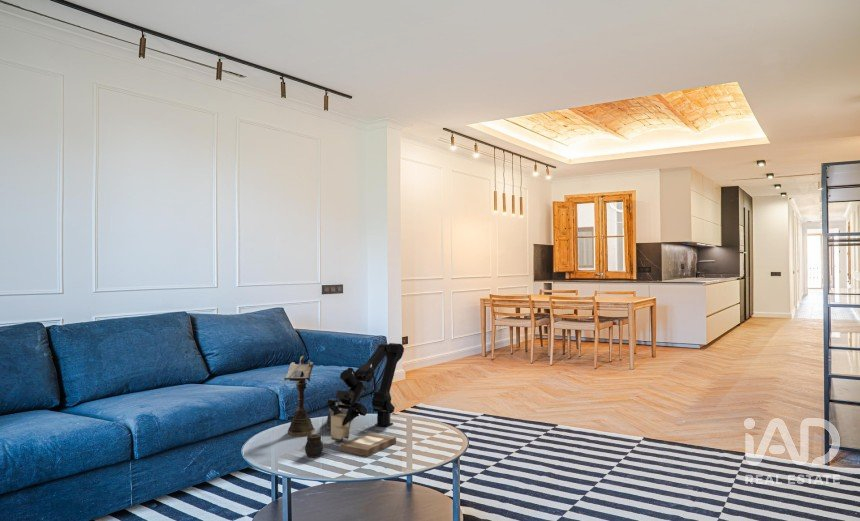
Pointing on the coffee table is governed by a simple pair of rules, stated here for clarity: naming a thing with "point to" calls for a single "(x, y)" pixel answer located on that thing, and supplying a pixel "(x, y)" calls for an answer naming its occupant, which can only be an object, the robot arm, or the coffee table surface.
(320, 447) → the mate gourd
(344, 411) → the toy van
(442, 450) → the coffee table surface
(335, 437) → the tan rectangular block
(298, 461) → the coffee table surface
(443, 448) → the coffee table surface
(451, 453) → the coffee table surface
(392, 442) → the loading dock
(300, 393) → the book stand
